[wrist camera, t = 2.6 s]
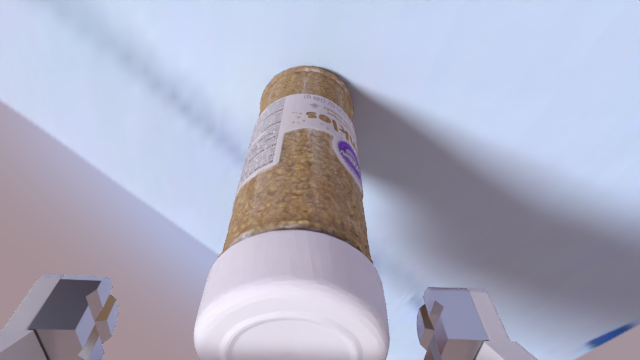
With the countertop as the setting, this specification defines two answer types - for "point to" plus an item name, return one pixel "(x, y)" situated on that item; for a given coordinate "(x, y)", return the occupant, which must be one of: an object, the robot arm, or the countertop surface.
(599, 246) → the countertop surface
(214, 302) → the sprinkles bottle
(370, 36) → the countertop surface
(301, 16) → the countertop surface
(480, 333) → the robot arm
